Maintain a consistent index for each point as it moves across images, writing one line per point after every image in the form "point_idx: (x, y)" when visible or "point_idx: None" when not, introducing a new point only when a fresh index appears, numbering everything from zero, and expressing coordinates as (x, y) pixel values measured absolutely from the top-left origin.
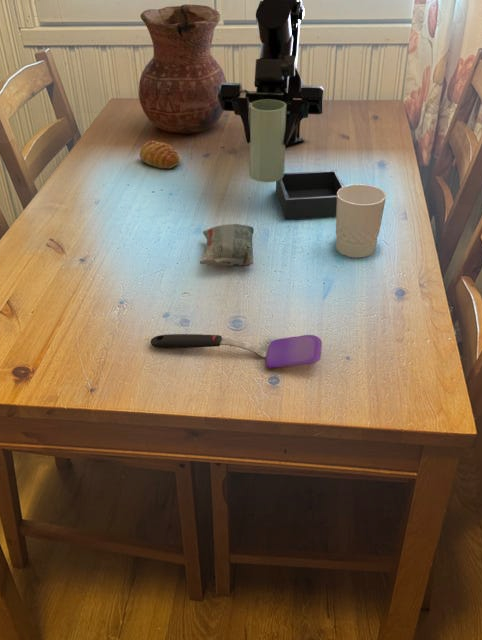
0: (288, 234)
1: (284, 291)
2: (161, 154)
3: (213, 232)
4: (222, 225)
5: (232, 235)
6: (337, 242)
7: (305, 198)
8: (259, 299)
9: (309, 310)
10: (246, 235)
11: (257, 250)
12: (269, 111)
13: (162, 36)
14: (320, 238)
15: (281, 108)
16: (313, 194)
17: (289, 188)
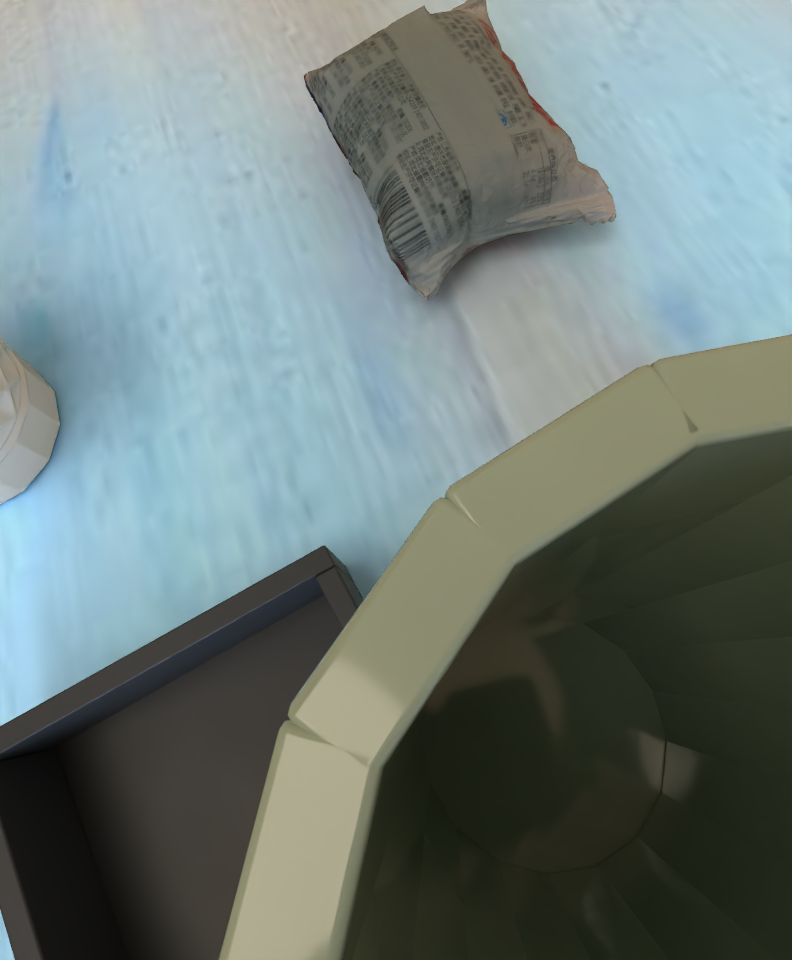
0: (284, 439)
1: (183, 92)
2: None
3: (519, 86)
4: (509, 138)
5: (416, 67)
6: (27, 367)
7: (217, 613)
8: (245, 31)
9: (86, 44)
10: (371, 126)
11: (363, 271)
12: (607, 391)
13: None
14: (138, 461)
15: (307, 833)
16: None
17: None
